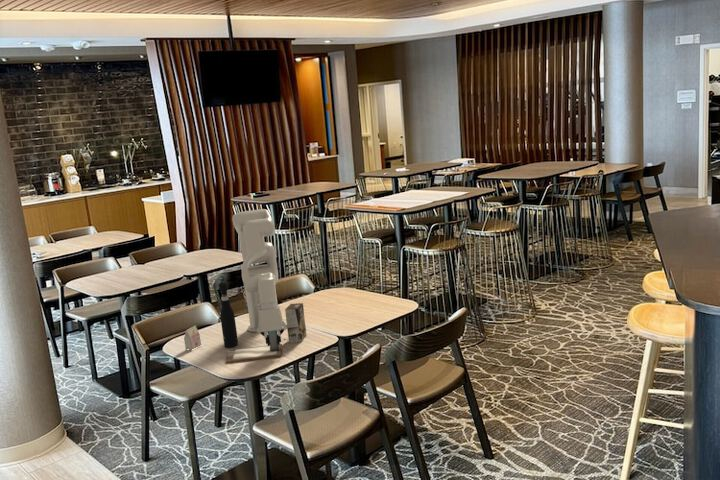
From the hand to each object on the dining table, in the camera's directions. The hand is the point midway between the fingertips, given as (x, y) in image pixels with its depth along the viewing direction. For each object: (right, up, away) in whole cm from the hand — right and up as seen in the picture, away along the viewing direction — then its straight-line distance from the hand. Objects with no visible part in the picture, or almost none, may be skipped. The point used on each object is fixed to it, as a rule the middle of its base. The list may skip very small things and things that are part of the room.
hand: (273, 344), depth 295 cm
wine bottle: (-22, -3, +15) cm, 26 cm away
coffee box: (+9, 0, +15) cm, 18 cm away
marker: (0, -3, +1) cm, 3 cm away
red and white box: (-40, -5, +16) cm, 43 cm away
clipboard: (-9, -5, +1) cm, 10 cm away
